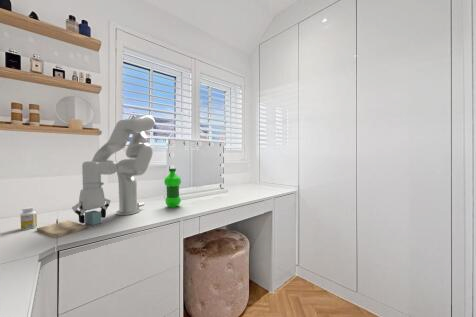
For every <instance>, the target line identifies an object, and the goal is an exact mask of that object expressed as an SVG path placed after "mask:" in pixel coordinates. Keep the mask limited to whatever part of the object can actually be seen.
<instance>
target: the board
mask: <svg viewBox="0 0 476 317" xmlns="http://www.w3.org/2000/svg"><path fill="white" fill-rule="evenodd" d="M86 229H88V225H87V224H83V223H78V222H74V221H71V220H65V221H61V222H57V223H53V224H48V225H45V226H41V227H40V226H39V227H36V232H39V233H42V234H44V235H47V236H50V237H53V238H60V237H63V236H66V235H69V234H73V233H76V232H79V231H83V230H86Z"/></svg>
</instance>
